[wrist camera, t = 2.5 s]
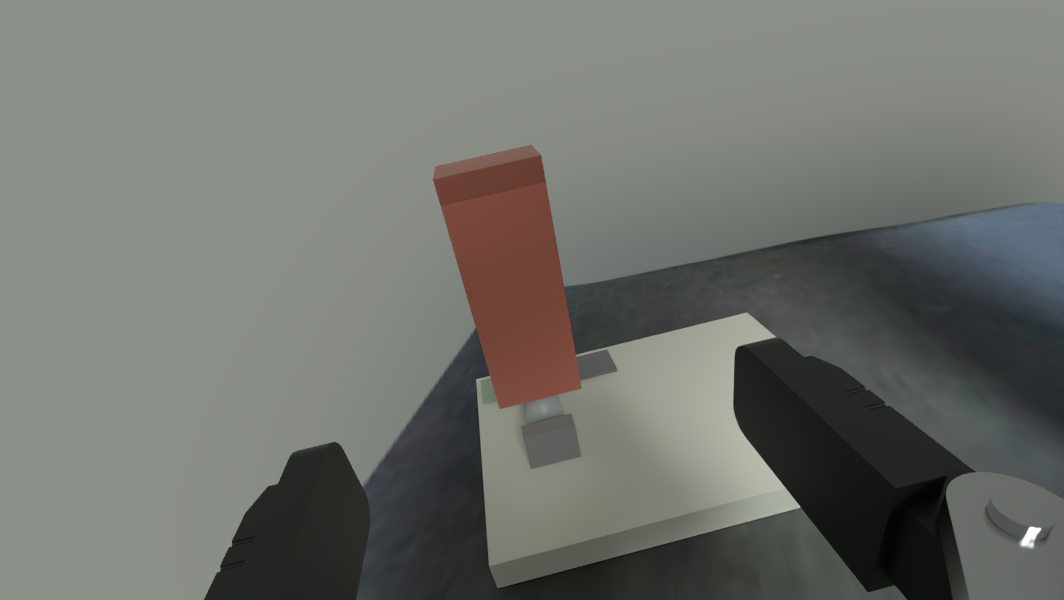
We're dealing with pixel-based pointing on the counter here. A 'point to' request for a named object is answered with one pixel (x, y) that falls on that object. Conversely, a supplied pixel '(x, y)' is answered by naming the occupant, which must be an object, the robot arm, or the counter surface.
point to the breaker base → (625, 456)
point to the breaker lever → (512, 276)
